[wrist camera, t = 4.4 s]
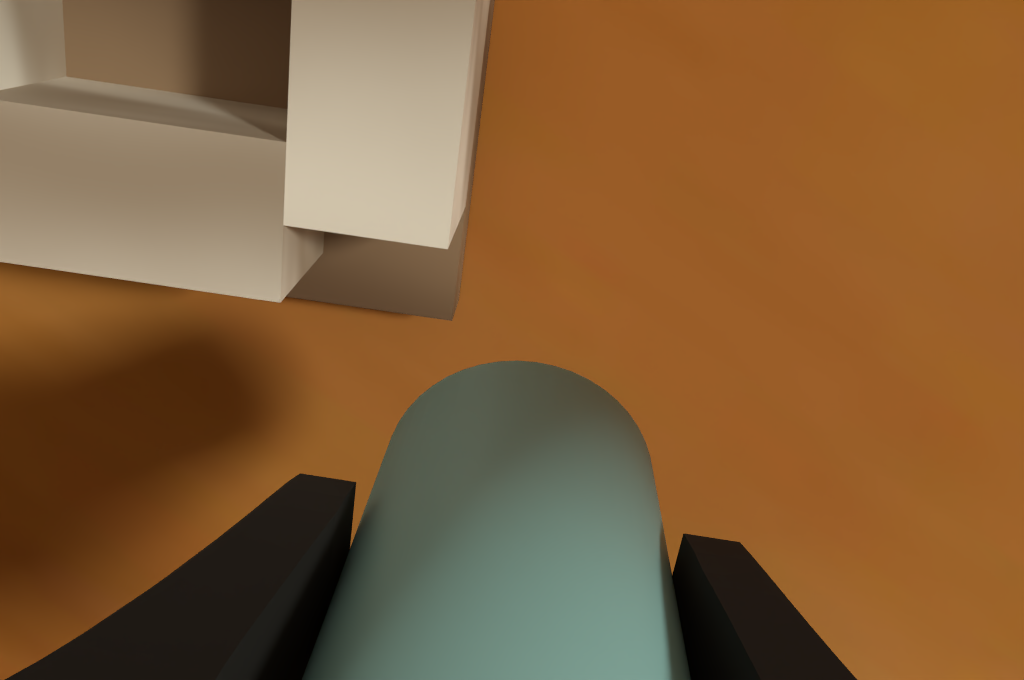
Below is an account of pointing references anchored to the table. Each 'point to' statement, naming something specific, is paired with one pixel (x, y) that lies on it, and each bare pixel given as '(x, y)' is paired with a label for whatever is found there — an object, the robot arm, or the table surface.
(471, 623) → the peg
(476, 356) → the table surface
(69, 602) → the table surface
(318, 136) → the socket board
